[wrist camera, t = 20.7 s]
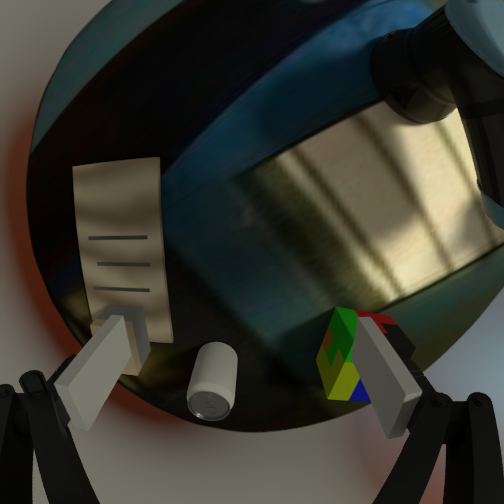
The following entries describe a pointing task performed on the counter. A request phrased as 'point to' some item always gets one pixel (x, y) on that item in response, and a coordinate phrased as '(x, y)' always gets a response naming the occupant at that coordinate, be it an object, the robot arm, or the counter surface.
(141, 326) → the block
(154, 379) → the counter surface
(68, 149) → the counter surface
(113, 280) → the board
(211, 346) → the can
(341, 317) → the puzzle toy
